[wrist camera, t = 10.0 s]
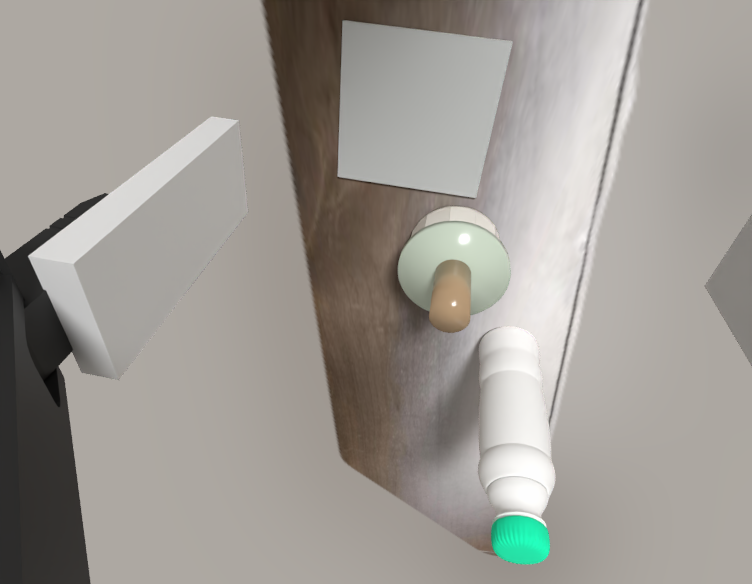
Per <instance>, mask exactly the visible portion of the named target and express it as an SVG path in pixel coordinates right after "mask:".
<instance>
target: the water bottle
mask: <svg viewBox="0 0 752 584" xmlns="http://www.w3.org/2000/svg"><path fill="white" fill-rule="evenodd" d="M479 362H480V370H479V386H480V390H481V391H480V400H479V450H480V461H479V465H478V475H479V479H480V482H481V485H482V487H483V489H484V490H485V492H486V494H487V495H488V499H489V502H490V504H491V505H492V507H493V508H494V510H495V511H496V517H495V518H494V519H493V525H492V530H491V541H492V546H493V550H494V551H495V553H496V554H497V555H498V556H499V557H501V558H502V559H504V560H505V561H508V562H512V563H516V564H534V563H538V562H542V561H543V560H544V559H546V558H547V556H548V554H549V550H550V540H549V533H548V530H547V528H546V523H545V522H544V521H543V520H542V519H541V515H542V513H543V511H544V510H545V507H546V505H547V503H548V498H549V496H550V494H551V492H552V490H553V487H554V484H555V470H554V466H553V463H552V462H551V441H550V431H549V423H548V415H547V409H546V403H545V399H544V394H543V391H542V390H543V376H542V371H541V367H540V351H539V345H538V342H537V340H536V338H535V337H534V336H533V335H532V334H531V333H530V332H528V331H526V330H524V329H522V328H518V327H513V326H505V327H499V328H496V329H493V330H491V331H490V332H488V333H487V334H486V335H485V336H484V337H483V338H482V340H481V342H480V345H479Z"/></svg>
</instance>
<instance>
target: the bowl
mask: <svg viewBox="0 0 752 584" xmlns="http://www.w3.org/2000/svg"><path fill="white" fill-rule="evenodd" d="M443 221H464V222H469V223H473V224H476V225H479V226H481V227H483V228H485V229H487V230H488V231H490V232H491V233H493V234H494V235H495V236H496V237H497V238H498V239H499V240H500V238H499V234H498V231H497V229H496V227H495V225H494V224H493V222H492V221H491V220H490V219H489V218H488V217H487V216H485V215H484V214H482V213H481V212H479V211H477V210H475V209H472V208H469V207H465V206H446V207H442V208H438V209H436V210H433V211H432V212H430V213H428V214H427V215H425V216H424V217H423V218H422V219H421V220H420V221H419V222H418V224H417V225H416V227H415V229H414V230H413V231H412V235H411V237H412V236H413V235H414V234H415V233H416V232H418V231H419V230H421V229H422V228H424V227H426V226H429V225H431V224H434V223H438V222H443Z"/></svg>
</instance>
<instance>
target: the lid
mask: <svg viewBox="0 0 752 584" xmlns="http://www.w3.org/2000/svg"><path fill="white" fill-rule="evenodd" d="M510 274H511V270H510V260H509V256H508V253H507V251H506V248H505V247H504V245H503V244H502V242H501V241H500V240H499V239H498V238H497V237H496V236H495V235H494V234H493V233H491V232H490V231H488V230H487V229H485V228H483V227H481V226H479V225H476V224H473V223H469V222H464V221H443V222H438V223H434V224H431V225H429V226H426V227H424V228H422V229H421V230H419V231H418V232H416V233H415V234H414V235H413V236H412V237H411V238H410V239H409V240H408V241H407V242H406V244H405V246H404V247H403V249H402V252H401V254H400V259H399V263H398V278H399V281H400V284H401V286H402V289H403V290H404V292H405V293H406V295H407V296H408V297H409V298H410V299H411V300H412V301H413V302H414V303H415V304H417V305H418V306H419V307H421V308H423V309H425V310H427V311H429V320H430V322H431V324H432V325H433V326H434V327H435V328H436V329H438V330H440V331H443V332H448V333H454V332H459V331H461V330H463V329H464V328H466V327H467V326H468V324H469V322H470V315H473V314H477V313H479V312H482V311H484V310H486V309H488V308H490V307H491V306H492V305H494V304H495V303H496V302H497V301H498V300H499V299H500V298H501V297H502V296H503V295H504V293H505V291H506V290H507V287H508V285H509V281H510Z"/></svg>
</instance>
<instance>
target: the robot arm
mask: <svg viewBox="0 0 752 584" xmlns="http://www.w3.org/2000/svg"><path fill="white" fill-rule="evenodd" d="M247 213H248V205H247V194H246V184H245V174H244V164H243V154H242V145H241V134H240V125H239V120H234V119H227V118H220V117H213V116H211V117H210V118H208V119H207V120H206V121H204V122H203V123H202V124H200V125H199V126H198V127H197V128H195V129H194V130H193V131H191V132H190V133H189V134H187V135H186V136H185V137H183V138H182V139H181V140H180V141H178V142H177V143H175V144H174V145H173V146H172V147H170V148H169V149H168V150H167V151H165V152H164V153H162V154H161V155H160V156H159V157H157V158H156V159H155V160H153V161H152V162H151V163H149V164H148V165H147V166H145V167H144V168H143V169H142V170H140V171H139V172H137V173H136V174H135V175H134V176H132V177H131V178H130V179H129V180H127V181H126V182H124V183H123V184H122V185H120V186H119V187H118V188H116V189H115V190H114V191H113V192H111V193H110V194H106V193H104V194H102V195H99V196H97V197H94V198H92V199H90V200H87V201H85V202H82V203H80V204H79V205H78V206H76V207H75V208H73V209H72V210H71V211H69V212H68V213H67V214H65V215H64V218H60V219H59V220H57V221H56V222H54V223H53V224H52V225H50V228H49V229H45V230H43V231H42V232H41V233H39V234H38V235H37V236H35V237H34V238H32V239H31V240H30V241H28V242H27V243H26V244H24V245H23V246H22V247H20V248H19V249H17V250H16V251H15V252H13V253H12V254H11V255H9V256H8V257H6V258H5V259H4V257H3V255H2V253H1V251H0V584H90V577H89V570H88V569H89V568H88V561H87V553H86V545H85V537H84V530H83V522H82V515H81V506H80V499H79V490H78V483H77V474H76V467H75V459H74V451H73V444H72V435H71V427H70V420H69V412H68V404H67V396H66V388H65V382H64V381H65V380H64V377H63V375H62V373H61V371H60V369H59V367H58V366H59V365H60V363H62V361H63V360H64V359H65V358H66V357H67V356H68V355H69V354H70V353H71V352H72V353H73V355H74V357H75V359H76V361H77V363H78V366H79V368H80V370H81V372H82V373H86V374H92V375H97V376H102V377H107V378H112V379H117V380H119V379H120V377H121V376H122V375H123V374H124V372H125V371H126V370H127V369H128V367H129V366H130V365H131V363H132V362H133V361H134V360H135V358H136V357H137V356H138V354H139V353H140V352H141V350H142V349H143V348H144V347H145V345H146V344H147V343H148V341H149V340H150V339H151V337H152V336H153V335H154V334H155V332H156V331H157V330H158V328H159V327H160V326H161V325H162V323H163V322H164V321H165V319H166V318H167V317H168V315H169V314H170V313H171V312H172V310H173V309H174V308H175V306H176V305H177V304H178V303H179V301H180V300H181V299H182V297H183V296H184V295H185V294H186V292H187V291H188V290H189V288H190V287H191V286H192V284H193V283H194V282H195V281H196V279H197V278H198V277H199V275H200V274H201V273H202V272H203V270H204V269H205V268H206V266H207V265H208V264H209V262H210V261H211V260H212V259H213V257H214V256H215V255H216V253H217V252H218V251H219V249H220V248H221V247H222V246H223V244H224V243H225V242H226V241H227V239H228V238H229V237H230V235H231V234H232V233H233V231H234V230H235V229H236V228H237V226H238V225H239V224H240V222H241V221H242V219H244V217H245V216H246V215H247ZM705 288H706V289H707V291H708V293H709V294H710V296H711V298H712V299H713V301H714V303H715V305H716V306H717V308H718V310H719V311H720V313H721V315H722V316H723V318H724V320H725V321H726V323H727V325H728V327H729V328H730V330H731V332H732V333H733V335H734V337H735V338H736V340H737V342H738V343H739V345H740V347H741V349H742V350H743V352H744V353H745V355H746V357H747V359H748V361H749V362H750V364H751V366H752V215H751V216H750V218H749V219H748V221H747V223H746V224H745V226H744V227H743V228H742V230H741V232H740V233H739V235H738V236H737V238H736V239H735V241H734V242H733V244H732V245H731V247H730V248H729V250H728V251H727V253H726V254H725V256H724V257H723V259H722V260H721V262H720V264H719V265H718V267H717V268H716V270H715V271H714V273H713V274H712V276H711V277H710V279H709V280H708V282H707V283H706V285H705Z"/></svg>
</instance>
